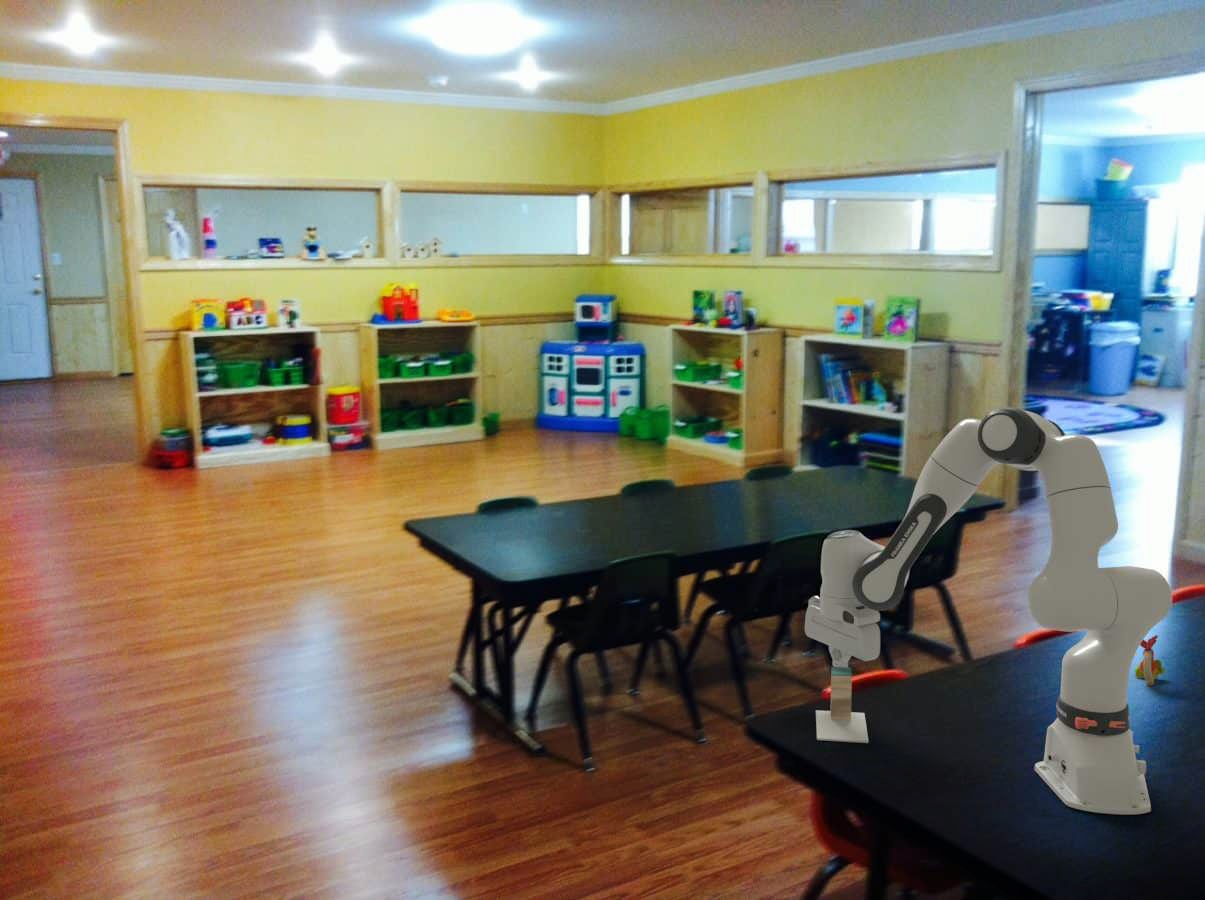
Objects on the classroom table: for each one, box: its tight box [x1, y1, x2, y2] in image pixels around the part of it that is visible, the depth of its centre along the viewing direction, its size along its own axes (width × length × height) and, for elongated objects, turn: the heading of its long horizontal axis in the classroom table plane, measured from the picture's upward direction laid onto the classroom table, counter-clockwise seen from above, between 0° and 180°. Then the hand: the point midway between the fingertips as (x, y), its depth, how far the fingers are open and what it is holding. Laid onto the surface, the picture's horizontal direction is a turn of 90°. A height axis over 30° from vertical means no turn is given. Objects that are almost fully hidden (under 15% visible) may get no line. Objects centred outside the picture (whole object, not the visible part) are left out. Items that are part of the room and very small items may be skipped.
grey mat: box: [815, 710, 869, 744], centre depth 223 cm, size 14×10×1 cm
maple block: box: [830, 666, 853, 721], centre depth 227 cm, size 4×4×10 cm
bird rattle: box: [1134, 634, 1166, 687], centre depth 244 cm, size 6×11×9 cm
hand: (840, 667), depth 234 cm, fingers closed
